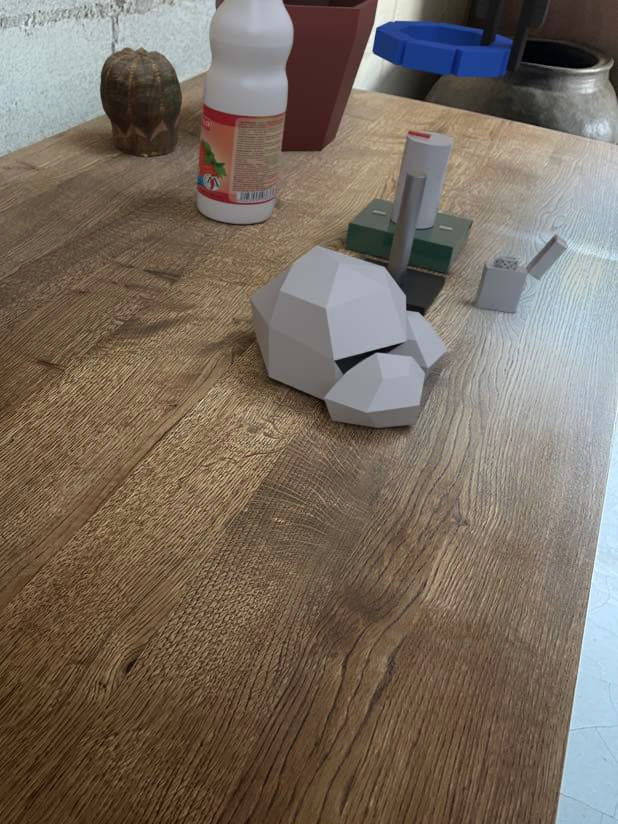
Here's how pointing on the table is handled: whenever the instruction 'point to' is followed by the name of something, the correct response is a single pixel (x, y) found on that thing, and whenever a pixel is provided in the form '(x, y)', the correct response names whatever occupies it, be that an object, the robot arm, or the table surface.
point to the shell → (141, 101)
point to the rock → (346, 338)
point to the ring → (441, 49)
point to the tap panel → (429, 245)
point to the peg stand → (412, 282)
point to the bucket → (322, 67)
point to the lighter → (514, 277)
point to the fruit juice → (244, 110)
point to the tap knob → (430, 158)
